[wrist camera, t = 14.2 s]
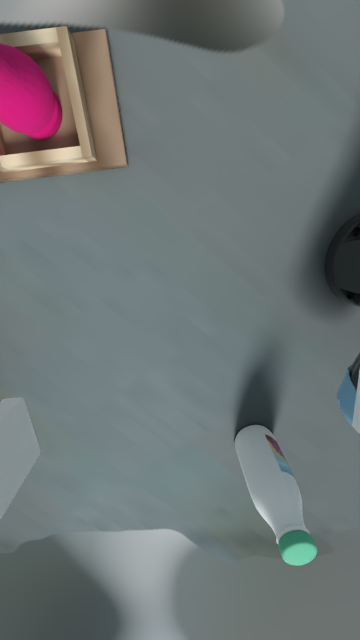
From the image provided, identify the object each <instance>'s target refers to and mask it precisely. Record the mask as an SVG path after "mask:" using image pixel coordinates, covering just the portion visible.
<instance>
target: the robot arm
mask: <svg viewBox="0 0 360 640" xmlns="http://www.w3.org/2000/svg"><path fill="white" fill-rule="evenodd" d="M325 272H326V278H327V281H328V284H329V286H330V288H331V290H332V291H333V292H334V293H335V294H336V295H337V296H338V297H339V298H340V299H342V300H344V301H346V302H348V303H351V304H353V305H356V306H359V307H360V214H358V215H357V216H355V217H353V218H352V219H351V220H349V221H348V222H347V223H346V224H345V225H344V226H343V227H342V228H341V229H340V230H339V232H338V233H337V234H336V236H335V237H334V239H333V241H332V243H331V245H330V247H329V250H328V253H327V257H326V263H325ZM337 400H338V404H339V406H340V409H341V411H342V413H343V415H344V416H345V418H346V419H347V420H348V422H349V423H350V424H351V425H352V426H353V427H354V429H355V430H356V431H357V432H358V433H359V434H360V353H359V355H358V356H357V358H356V359H355V361H354V362H353V364H352V365H351V366H350V367H349V368H348V369H347V372H346V376H345V378H344V380H343V382H342V384H341V385H340V387H339V389H338V392H337ZM40 454H41V452H40V448H39V445H38V442H37V439H36V436H35V433H34V430H33V426H32V423H31V420H30V417H29V414H28V411H27V408H26V404H25V401H24V398H23V397H18V398H7V399H3V400H2V401H1V402H0V520H1V518H2V516H3V515H4V513H5V511H6V510H7V508H8V506H9V505H10V503H11V502H12V500H13V498H14V497H15V495H16V493H17V492H18V490H19V488H20V487H21V485H22V483H23V482H24V480H25V478H26V477H27V475H28V473H29V472H30V470H31V469H32V467H33V465H34V464H35V462H36V460H37V459H38V457H39V455H40Z"/></svg>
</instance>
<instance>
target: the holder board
mask: <svg viewBox="0 0 360 640" xmlns="http://www.w3.org/2000/svg"><path fill="white" fill-rule="evenodd" d="M0 43H1V44H5V45H9V46H12V47H15V48H16V49H18V50H20V51H22V52H23V53H25V54H26V55H28V56H29V57H30V58H31V59H32V60H33V61H34V62H35V63H36V64H37V65H38V66H39V67H40V68H41V69H42V70H43V72H44V73H45V75H46V76H47V78H48V80H49V82H50V85H51V87H52V90H53V91H54V92H55V94H56V95H57V97H58V99H59V101H60V104H61V108H62V123H61V126H60V128H59V130H58V131H57V133H56V134H55V135H53V136H52V137H50V138H48V139H44V140H37V139H33V138H31V137H29V136H27V135H26V134H23V133H19V132H15V131H13V130H11V129H9V128H8V127H6V126H5V125H4V124H2V123H1V122H0V183H2V182H10V181H18V180H26V179H34V178H42V177H50V176H58V175H66V174H74V173H82V172H90V171H98V170H106V169H114V168H122V167H128V161H127V155H126V149H125V142H124V136H123V130H122V124H121V117H120V111H119V105H118V99H117V92H116V86H115V80H114V74H113V67H112V61H111V55H110V48H109V42H108V37H107V34H106V30H105V29H99V30H91V31H83V32H75V33H70V32H69V30H68V28H67V26H62V27H54V28H46V29H38V30H30V31H22V32H14V33H6V34H0Z"/></svg>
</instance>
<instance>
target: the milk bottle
mask: <svg viewBox="0 0 360 640" xmlns="http://www.w3.org/2000/svg"><path fill="white" fill-rule="evenodd" d="M235 447H236V451H237V454H238V457H239V461H240V464H241V467H242V470H243V473H244V477H245V480H246V483H247V486H248V489H249V492H250V495H251V497H252V500H253V502H254V504H255V506H256V508H257V510H258V511H259V513H260V514H261V515H262V517H263V518H264V519H265V520H266V521H267V522H268V524H269V525H270V526H271V528H272V529H273V531H274V532H275V534H276V536H277V538H276V541H277V544H278V546H279V550H280V553H281V556H282V558H283V559H284V561H285V562H287V563H288V564H291V565H303V564H306V563H308V562H310V561H311V560H313V559H314V557H315V556H316V554H317V548H316V545H315V543H314V541H313V539H312V537H311V535H310V532H309V530H308V529H307V528H305V525H304V521H303V515H302V499H301V494H300V490H299V487H298V485H297V482H296V480H295V478H294V476H293V474H292V472H291V470H290V468H289V466H288V464H287V462H286V460H285V458H284V456H283V454H282V452H281V450H280V448H279V446H278V444H277V442H276V440H275V438H274V436H273V435H272V433H271V431H270V430H269V429H267V428H266V427H264V426H261V425H250V426H247V427H245V428H243V429H242V430H241V431H240V432H239V433H238V434H237V436H236V439H235Z"/></svg>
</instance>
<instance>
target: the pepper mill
mask: <svg viewBox="0 0 360 640" xmlns="http://www.w3.org/2000/svg"><path fill="white" fill-rule="evenodd" d="M0 122H1V123H2V124H4V125H5V126H6V127H8V128H9V129H11V130H13V131H15V132H19V133H23V134H26V135H27V136H29V137H31V138H33V139H37V140H44V139H48V138H50V137H52V136H53V135H55V134H56V133H57V131H58V130H59V128H60V126H61V123H62V108H61V104H60V101H59V99H58V97H57V95H56V94H55V92H54V91H53V90H52V87H51V85H50V82H49V80H48V78H47V76H46V75H45V73H44V72H43V70H42V69H41V68H40V67H39V66H38V65H37V64H36V63H35V62H34V61H33V60H32V59H31V58H30V57H29V56H28V55H26V54H25V53H23V52H22V51H20V50H18V49H16V48H15V47H12V46H9V45H5V44H1V43H0Z"/></svg>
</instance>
